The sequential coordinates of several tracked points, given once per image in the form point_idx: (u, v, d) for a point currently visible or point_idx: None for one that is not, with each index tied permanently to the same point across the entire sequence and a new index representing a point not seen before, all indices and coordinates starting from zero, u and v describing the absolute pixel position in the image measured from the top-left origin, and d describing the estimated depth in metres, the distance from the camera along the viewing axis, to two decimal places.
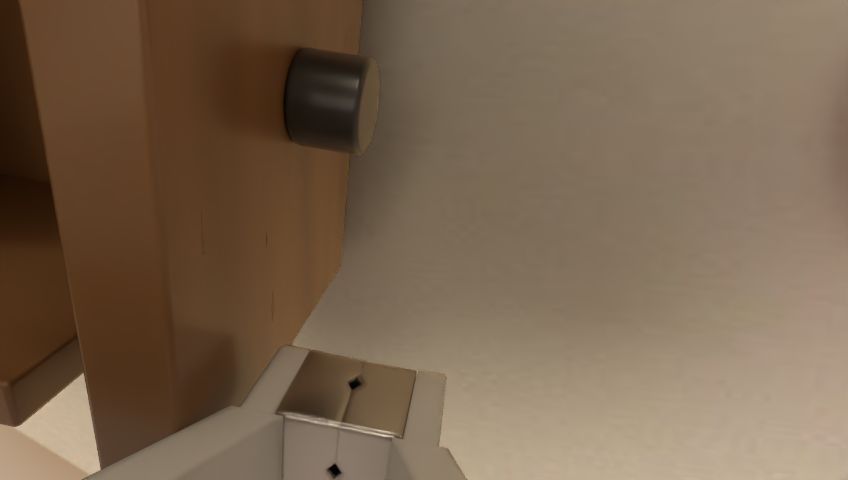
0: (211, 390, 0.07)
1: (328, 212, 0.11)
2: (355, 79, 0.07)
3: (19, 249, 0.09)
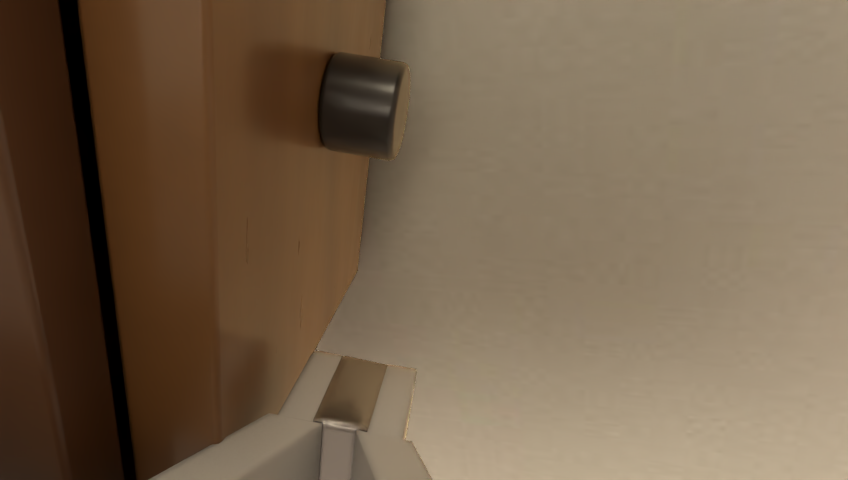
0: (248, 399, 0.07)
1: (349, 217, 0.11)
2: (391, 84, 0.07)
3: None
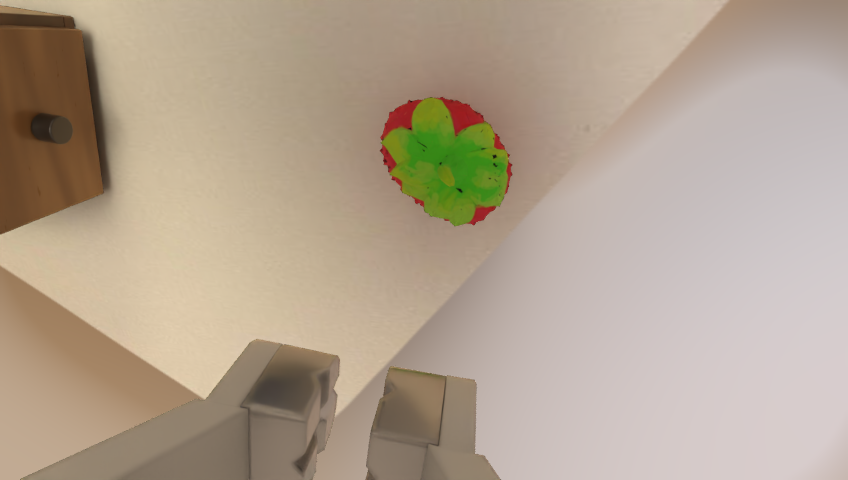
0: (6, 204, 0.26)
1: (79, 166, 0.30)
2: (49, 123, 0.26)
3: None
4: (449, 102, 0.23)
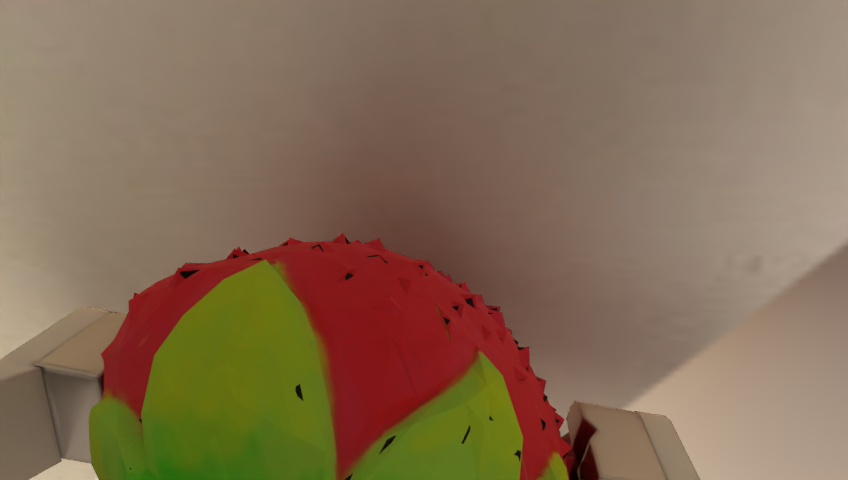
0: None
1: None
2: None
3: None
4: (334, 287, 0.06)
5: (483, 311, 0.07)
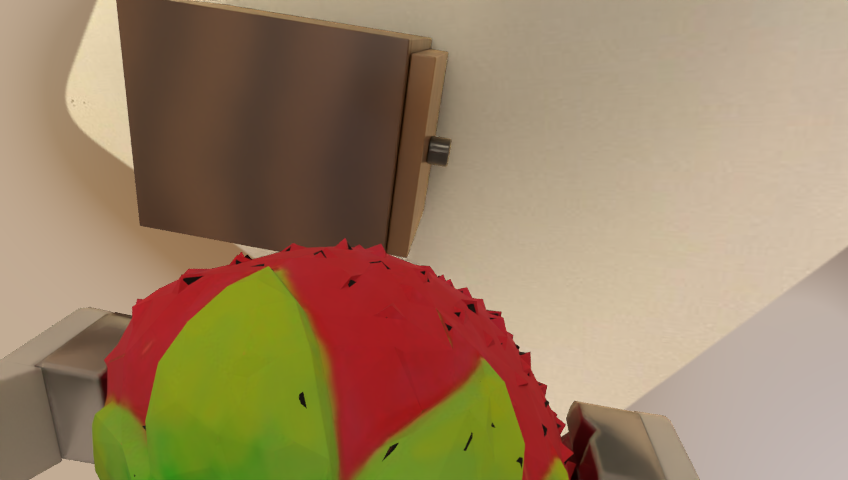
0: (412, 227, 0.26)
1: (426, 186, 0.31)
2: (447, 146, 0.27)
3: None
4: (337, 293, 0.06)
5: (485, 316, 0.07)
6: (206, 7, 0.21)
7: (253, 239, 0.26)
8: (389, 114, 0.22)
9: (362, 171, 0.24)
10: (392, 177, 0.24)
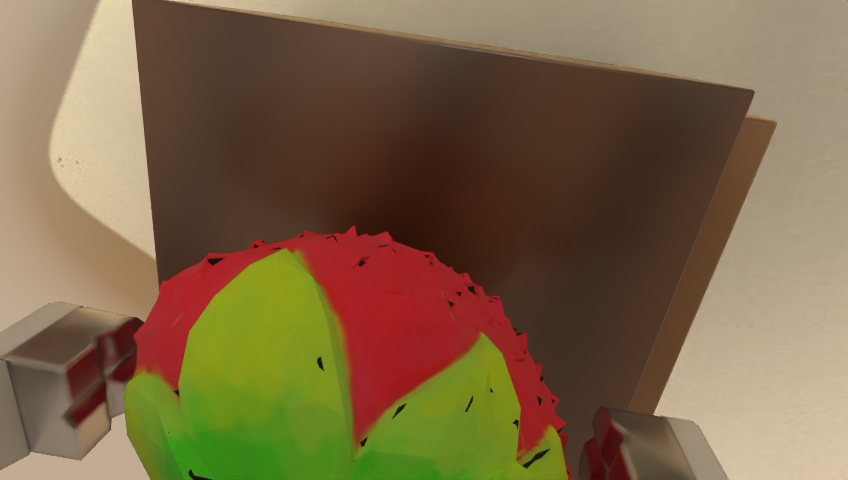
0: None
1: None
2: None
3: None
4: (349, 272, 0.06)
5: (484, 299, 0.08)
6: (319, 26, 0.10)
7: None
8: (676, 234, 0.11)
9: (597, 331, 0.12)
10: (653, 342, 0.12)
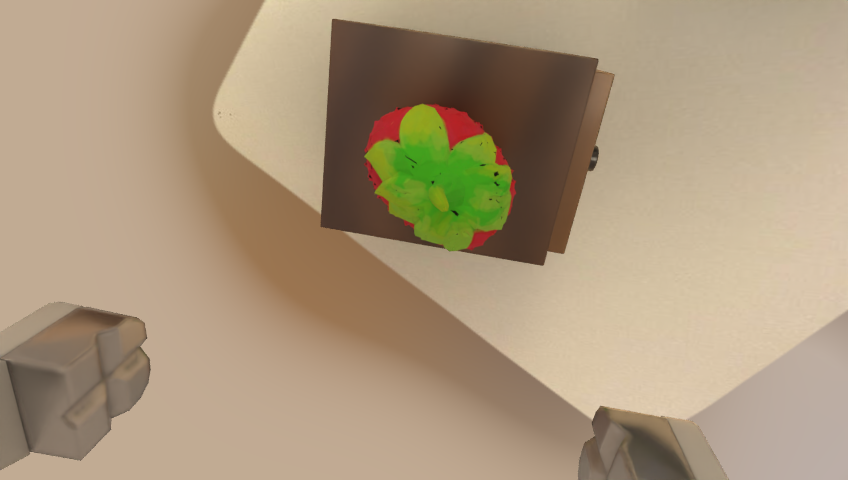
0: None
1: None
2: (596, 153, 0.30)
3: None
4: (443, 110, 0.20)
5: None
6: (414, 32, 0.24)
7: None
8: (571, 125, 0.25)
9: (538, 176, 0.26)
10: (565, 181, 0.26)
